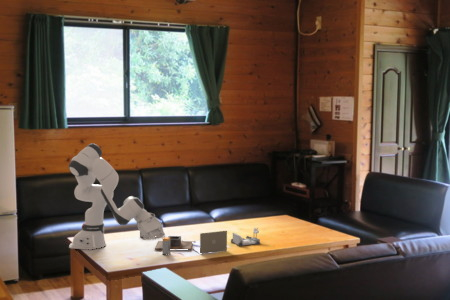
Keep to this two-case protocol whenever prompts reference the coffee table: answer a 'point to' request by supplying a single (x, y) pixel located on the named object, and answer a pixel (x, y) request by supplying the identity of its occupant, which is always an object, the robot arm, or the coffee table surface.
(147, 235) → the grey rounded block
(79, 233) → the robot arm
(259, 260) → the coffee table surface
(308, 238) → the coffee table surface
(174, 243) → the keeper
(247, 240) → the toy car
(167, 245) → the toggle bar
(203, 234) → the laptop
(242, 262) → the coffee table surface
